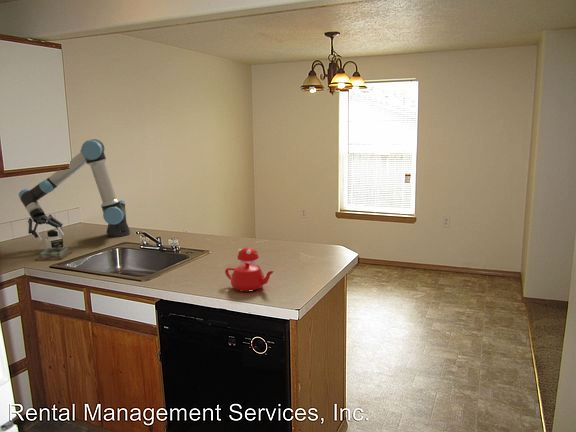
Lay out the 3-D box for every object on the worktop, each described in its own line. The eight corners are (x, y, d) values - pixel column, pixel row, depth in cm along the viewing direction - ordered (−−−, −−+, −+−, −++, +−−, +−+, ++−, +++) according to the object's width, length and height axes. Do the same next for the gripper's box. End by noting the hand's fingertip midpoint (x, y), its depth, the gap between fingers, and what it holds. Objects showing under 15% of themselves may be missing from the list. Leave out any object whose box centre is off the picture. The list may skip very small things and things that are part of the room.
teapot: (217, 290, 212) (215, 264, 210) (234, 279, 226) (233, 255, 224) (267, 298, 202) (266, 270, 200) (282, 286, 216) (281, 260, 214)
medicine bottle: (52, 252, 278) (49, 232, 276) (46, 250, 282) (43, 230, 280) (64, 249, 284) (61, 230, 281) (58, 247, 288) (55, 228, 285)
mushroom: (239, 266, 245) (238, 244, 243) (260, 266, 245) (259, 244, 242) (236, 273, 235) (235, 250, 232) (258, 273, 234) (257, 250, 232)
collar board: (72, 252, 276) (71, 246, 276) (61, 259, 263) (60, 253, 262) (48, 253, 276) (47, 247, 275) (36, 260, 262) (35, 254, 262)
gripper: (53, 211, 299) (69, 237, 293) (12, 218, 278) (29, 247, 273) (57, 204, 295) (73, 230, 289) (16, 211, 274) (33, 239, 269)
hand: (52, 238), depth 281 cm, fingers open, 13 cm apart
